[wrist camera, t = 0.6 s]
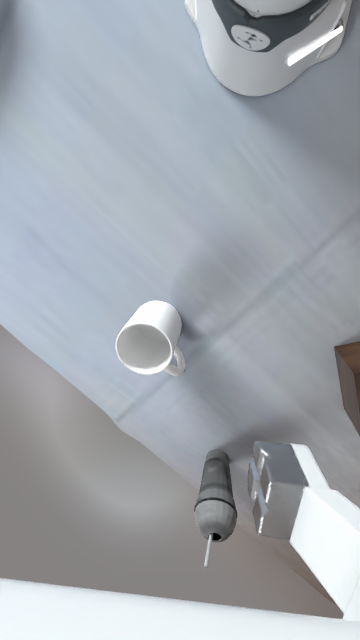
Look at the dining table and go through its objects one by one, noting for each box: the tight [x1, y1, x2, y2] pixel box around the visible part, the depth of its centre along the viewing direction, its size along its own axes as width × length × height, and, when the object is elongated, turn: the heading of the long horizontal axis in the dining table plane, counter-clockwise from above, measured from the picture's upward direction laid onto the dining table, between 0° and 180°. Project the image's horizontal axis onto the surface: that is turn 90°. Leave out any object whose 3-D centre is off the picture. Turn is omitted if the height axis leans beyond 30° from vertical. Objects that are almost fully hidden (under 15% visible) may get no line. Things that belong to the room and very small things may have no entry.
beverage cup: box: [194, 450, 237, 568], centre depth 52 cm, size 7×7×20 cm
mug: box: [116, 301, 186, 376], centre depth 47 cm, size 12×8×10 cm
